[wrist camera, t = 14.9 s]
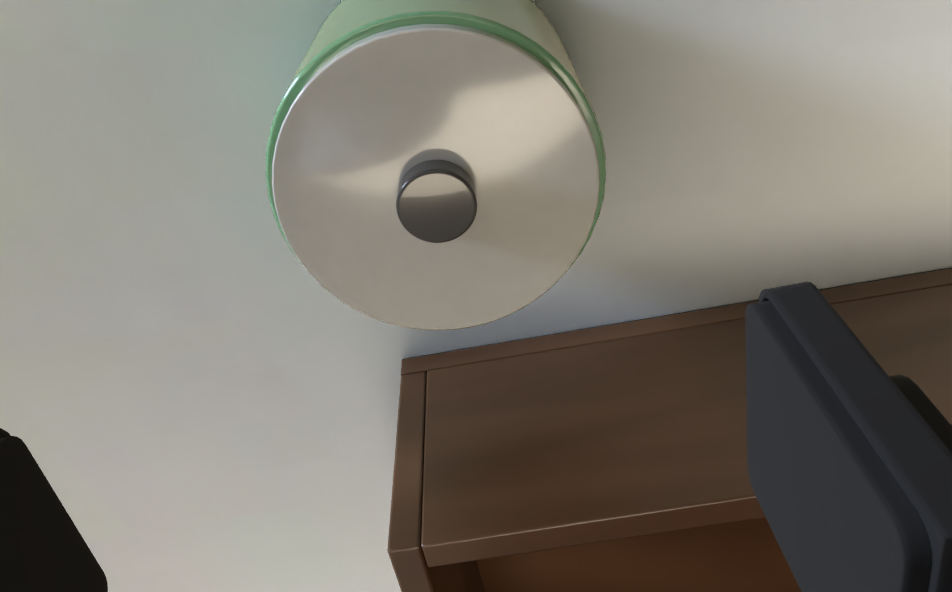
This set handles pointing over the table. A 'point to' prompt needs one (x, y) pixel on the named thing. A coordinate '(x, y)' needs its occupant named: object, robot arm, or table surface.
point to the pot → (436, 160)
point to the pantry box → (616, 450)
